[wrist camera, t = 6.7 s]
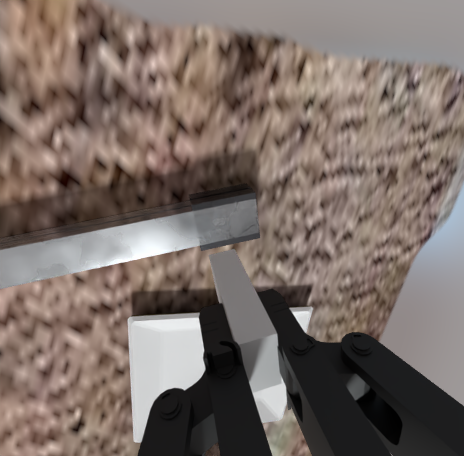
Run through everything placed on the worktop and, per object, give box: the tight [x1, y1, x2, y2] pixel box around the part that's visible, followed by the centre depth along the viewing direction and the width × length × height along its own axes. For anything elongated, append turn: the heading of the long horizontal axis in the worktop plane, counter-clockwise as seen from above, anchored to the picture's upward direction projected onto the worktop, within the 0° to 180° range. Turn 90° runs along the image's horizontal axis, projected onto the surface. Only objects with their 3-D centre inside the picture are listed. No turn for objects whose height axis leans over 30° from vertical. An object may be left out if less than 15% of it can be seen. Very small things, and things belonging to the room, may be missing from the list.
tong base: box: [0, 184, 250, 244], centre depth 21 cm, size 37×4×2 cm, turn 98°
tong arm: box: [0, 188, 260, 289], centre depth 21 cm, size 26×4×1 cm, turn 98°
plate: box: [128, 306, 313, 443], centre depth 31 cm, size 19×19×2 cm
